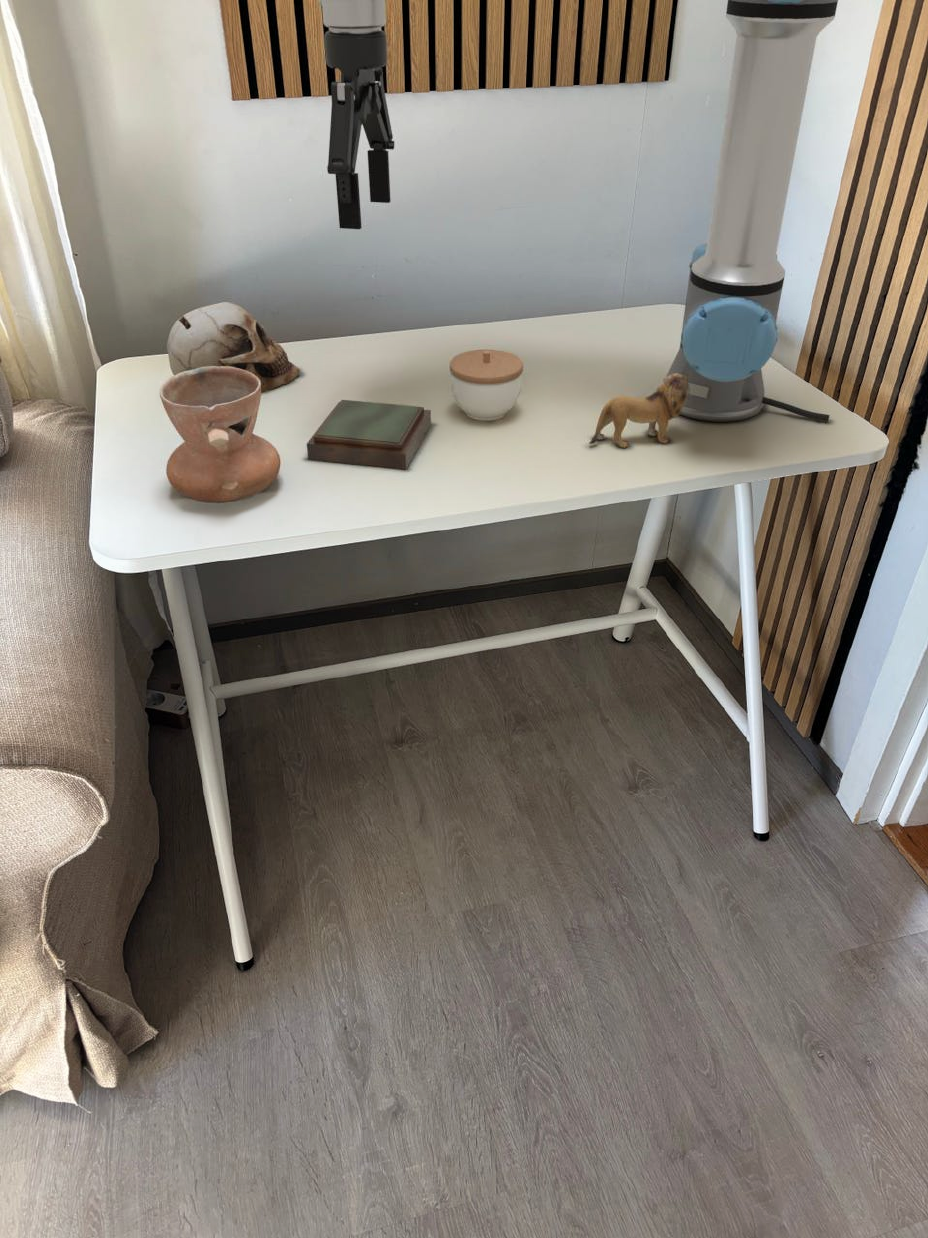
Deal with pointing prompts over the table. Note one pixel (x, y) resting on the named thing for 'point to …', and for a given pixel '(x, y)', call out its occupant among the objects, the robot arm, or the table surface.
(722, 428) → the table surface
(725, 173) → the robot arm
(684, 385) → the lion figurine
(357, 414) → the holder
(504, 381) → the lidded bowl
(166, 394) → the orange-brown waisted vessel
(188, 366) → the coin bank
